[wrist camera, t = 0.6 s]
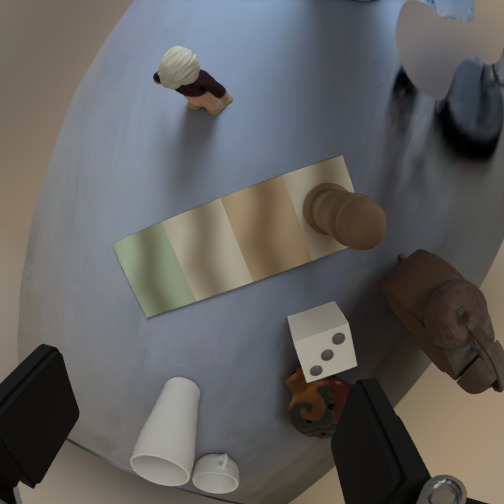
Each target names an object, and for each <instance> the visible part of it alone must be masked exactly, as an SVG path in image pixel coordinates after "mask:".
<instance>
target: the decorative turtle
mask: <svg viewBox="0 0 504 504" xmlns="http://www.w3.org/2000/svg"><path fill="white" fill-rule="evenodd" d="M285 384H286V385H287V387H288V388H289V389H290V391H291V392H292V394H293V396H292V399H291V401H290V404H289V407H288V416H289V419H290V421H291V423H292V424H293V426H294V427H295V428H296V429H297V430H298V431H299V432H301V433H302V434H304V435H306V436H309V437H312V438H316V439H325V438H329V437H331V436H332V437H333V434H334V432H335V429H336V427H337V424H338V421H339V418H340V416H341V413H342V410H343V407H344V405H345V402H346V399H347V396H348V393H349V390H350V387H351V385H350V384H349V383H347V382H345V381H344V380H342V379H340V378H339V377H337V376H335V375H330V376H327V377H324V378H321V379H318V380H315V381H312V382H308V383H307V382H306V379H305V376H304V373H303V370H302V368H296V369H294V370H292V371H291V372H290V373H289V374H288V375H287V376H286V379H285Z"/></svg>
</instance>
